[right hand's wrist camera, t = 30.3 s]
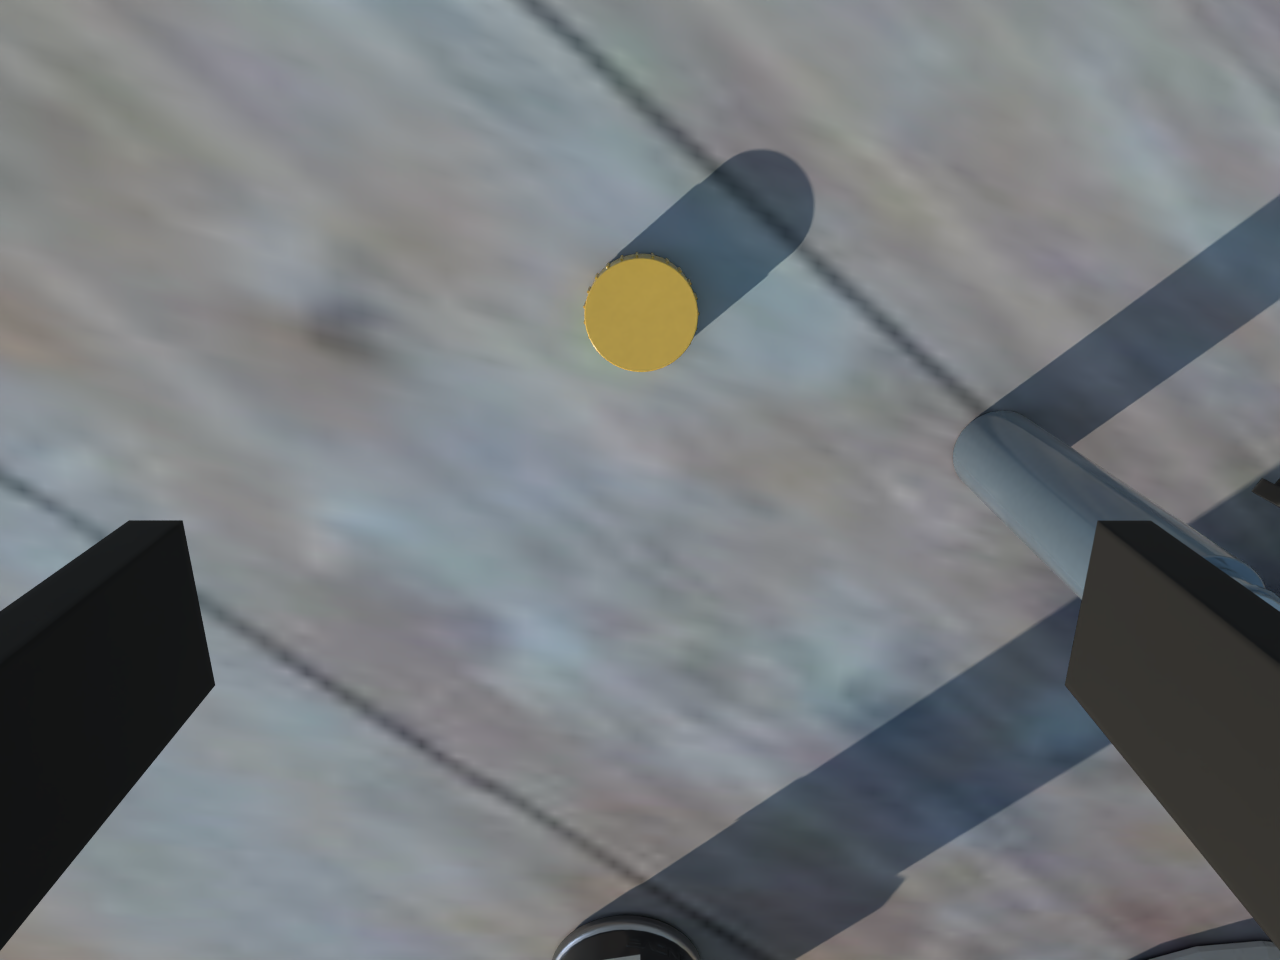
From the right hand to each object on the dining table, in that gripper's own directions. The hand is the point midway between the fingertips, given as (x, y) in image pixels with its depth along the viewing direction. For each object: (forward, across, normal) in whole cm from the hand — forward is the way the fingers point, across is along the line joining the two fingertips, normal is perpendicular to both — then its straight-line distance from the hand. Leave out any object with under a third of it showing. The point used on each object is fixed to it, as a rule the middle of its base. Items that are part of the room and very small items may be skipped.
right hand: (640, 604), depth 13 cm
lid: (+27, 0, 0) cm, 27 cm away
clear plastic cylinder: (+29, +17, -7) cm, 34 cm away
